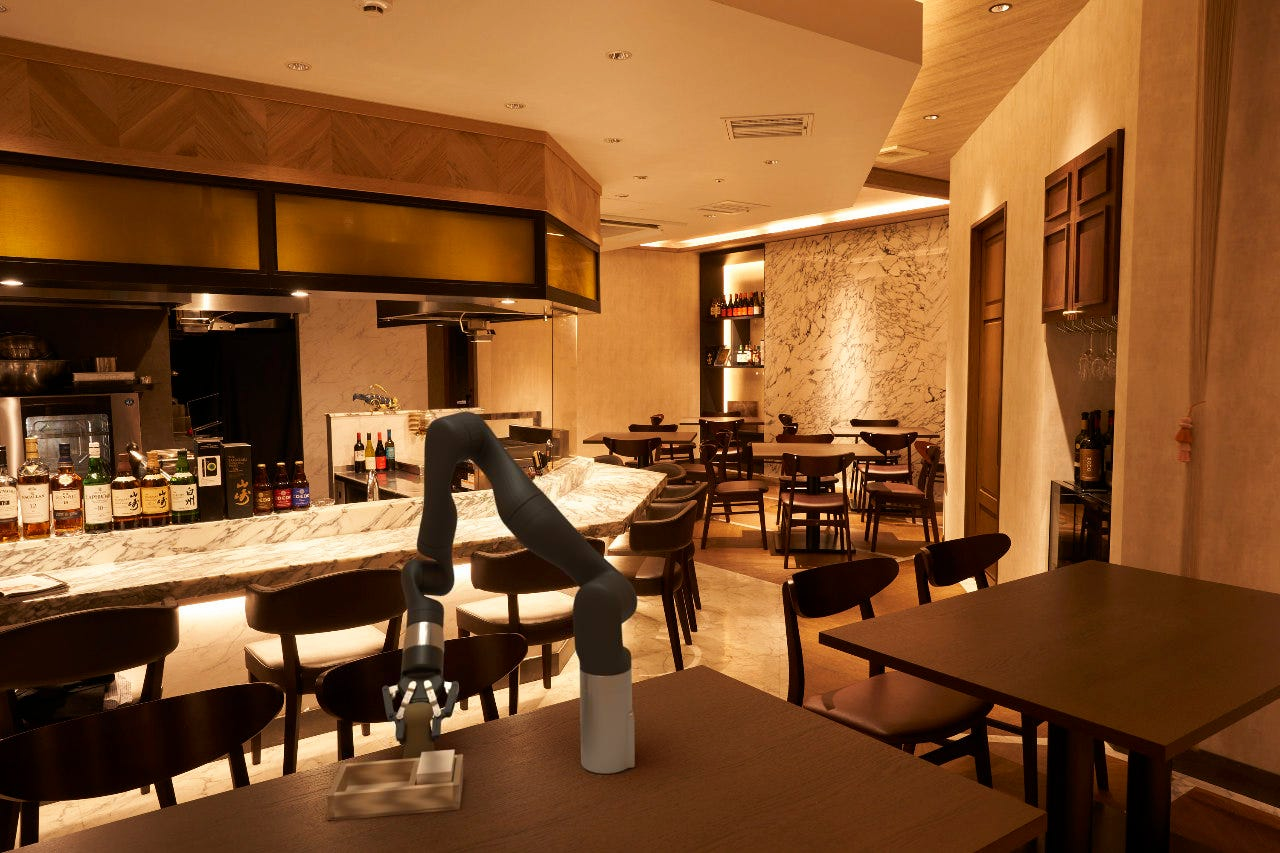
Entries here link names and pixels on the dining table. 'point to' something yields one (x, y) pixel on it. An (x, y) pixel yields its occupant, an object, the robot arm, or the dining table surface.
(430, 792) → the caddy
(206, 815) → the dining table surface
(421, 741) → the olive pawn
